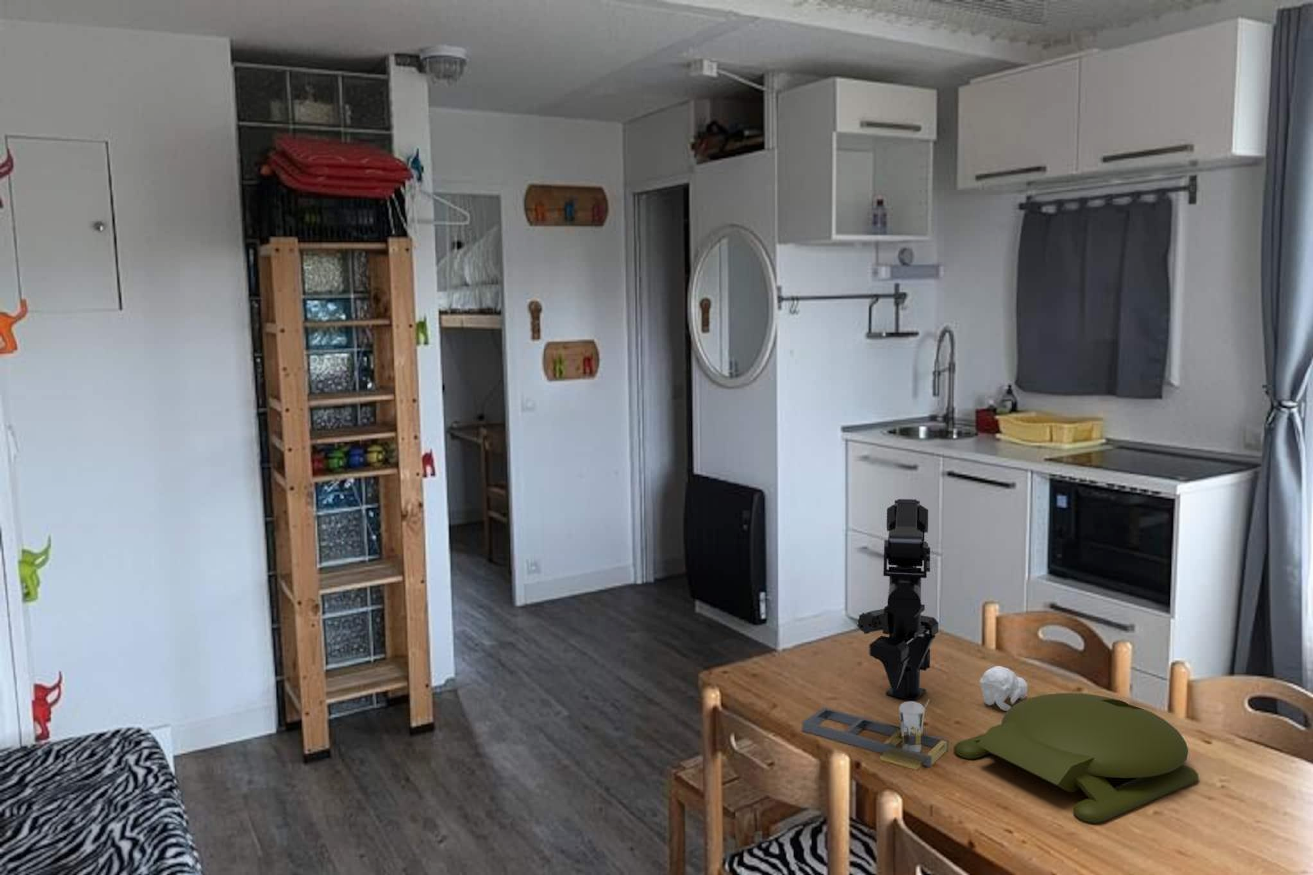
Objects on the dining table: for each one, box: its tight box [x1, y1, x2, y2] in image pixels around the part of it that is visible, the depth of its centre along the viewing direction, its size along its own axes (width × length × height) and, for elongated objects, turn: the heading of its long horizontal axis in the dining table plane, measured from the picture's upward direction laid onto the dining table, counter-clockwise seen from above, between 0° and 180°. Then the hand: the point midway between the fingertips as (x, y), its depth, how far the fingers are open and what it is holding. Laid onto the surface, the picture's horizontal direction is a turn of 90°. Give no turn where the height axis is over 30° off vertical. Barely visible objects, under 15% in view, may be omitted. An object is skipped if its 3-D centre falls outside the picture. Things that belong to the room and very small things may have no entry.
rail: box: [802, 706, 949, 771], centre depth 184 cm, size 13×26×2 cm, turn 52°
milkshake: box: [898, 699, 930, 753], centre depth 179 cm, size 5×5×10 cm
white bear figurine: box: [979, 665, 1028, 712], centre depth 199 cm, size 6×8×12 cm
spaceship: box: [953, 692, 1199, 824], centre depth 173 cm, size 35×31×10 cm
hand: (904, 680), depth 182 cm, fingers open, 9 cm apart
